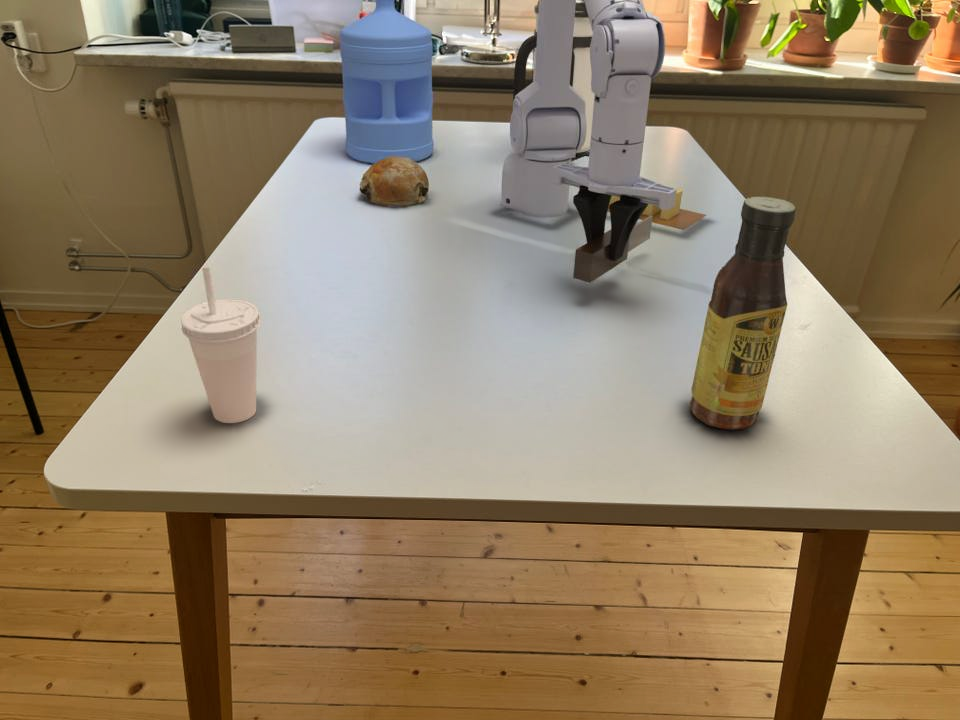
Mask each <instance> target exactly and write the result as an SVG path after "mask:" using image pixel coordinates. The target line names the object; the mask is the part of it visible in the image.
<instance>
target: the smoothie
mask: <svg viewBox="0 0 960 720" xmlns="http://www.w3.org/2000/svg"><path fill="white" fill-rule="evenodd" d="M202 275H203V281H204V288H205V293H206V300H207V301H205V302H202V303H198V304H196V305H194V306H192V307H190V308H188V309H187V310H186V311H185V312H184V313H183V314H182V316H181V317H180V323H181V331H182V334H183V335H184V336H185V337H186V338H188V341H189V345H190V348H191V351H192V355H193V357H194V360H195V364H196V366H197V369H198V372H199V375H200V379H201V381H202V384H203V387H204V391H205V394H206V397H207V400H208V403H209V407H210V409H211V413H212V415H213V418H214V419H215V420H216V421H218V422H220V423H223V424H237V423H242V422H245V421H248V420H249V419H251V418H252V417H253V416H254V415H255V414H256V412H257V364H258V363H257V362H258V361H257V359H258V357H257V351H258V348H257V347H258V345H257V344H258V329H259V327H260V325H261V322H262V321H261V317H260V312H259V309H258V307H257V306H256V305H255V304H253V303H251V302H248V301H245V300H241V299H231V298H230V299H229V298H225V299H215V295H214V288H213V287H214V286H213V282H212V275H211V268H210V266H209V265H203V266H202Z"/></svg>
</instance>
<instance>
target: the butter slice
mask: <svg viewBox="0 0 960 720" xmlns="http://www.w3.org/2000/svg"><path fill="white" fill-rule="evenodd" d="M676 189H677V194H676V201H675V206H673V207H672V208H670V209H668V210H663V209H661V216H660V219H664V220H669V219H670V218H672V217H674V216H675V215H677V214H679V211H680V209H681V204H682V196H683V189H680V188H676Z"/></svg>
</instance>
